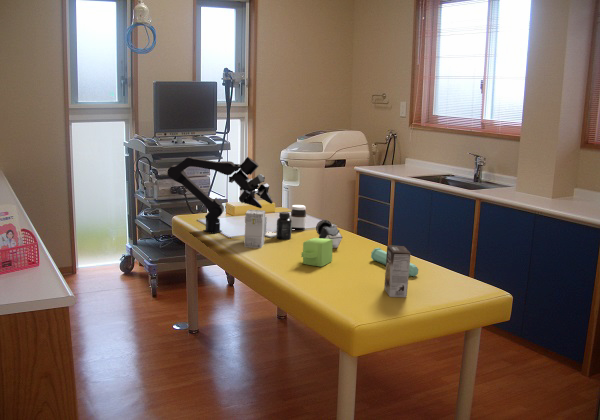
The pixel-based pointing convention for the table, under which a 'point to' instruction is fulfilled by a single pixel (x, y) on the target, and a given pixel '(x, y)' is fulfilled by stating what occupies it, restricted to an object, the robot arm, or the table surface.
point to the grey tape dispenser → (329, 232)
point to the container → (381, 257)
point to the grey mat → (270, 234)
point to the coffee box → (397, 271)
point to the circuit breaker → (255, 228)
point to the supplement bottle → (284, 226)
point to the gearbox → (317, 251)
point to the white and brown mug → (298, 217)
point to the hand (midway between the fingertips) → (266, 205)
